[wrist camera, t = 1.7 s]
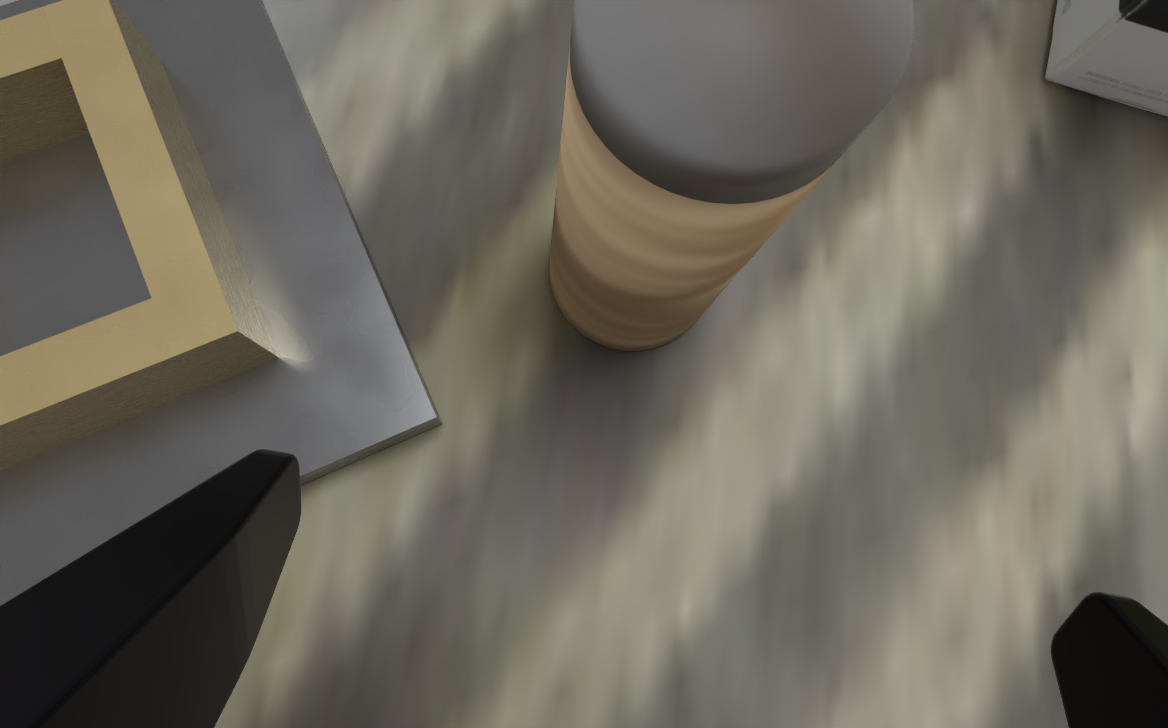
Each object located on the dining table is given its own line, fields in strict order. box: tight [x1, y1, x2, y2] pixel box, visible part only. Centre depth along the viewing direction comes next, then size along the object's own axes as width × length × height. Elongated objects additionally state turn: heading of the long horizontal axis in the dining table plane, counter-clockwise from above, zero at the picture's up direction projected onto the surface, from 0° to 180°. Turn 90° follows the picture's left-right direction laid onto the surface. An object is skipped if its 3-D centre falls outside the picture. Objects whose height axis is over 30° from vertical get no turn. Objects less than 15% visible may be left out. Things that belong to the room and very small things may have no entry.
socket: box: [0, 0, 442, 606], centre depth 20 cm, size 16×16×4 cm
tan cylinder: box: [549, 0, 915, 351], centre depth 17 cm, size 5×5×12 cm
